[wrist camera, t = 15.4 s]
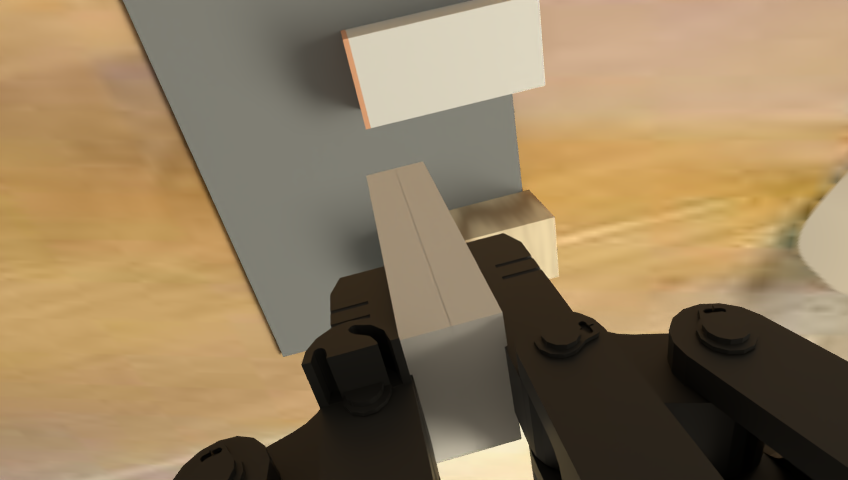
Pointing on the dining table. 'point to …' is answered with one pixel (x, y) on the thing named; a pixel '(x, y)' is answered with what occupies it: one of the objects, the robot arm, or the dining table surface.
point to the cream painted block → (445, 58)
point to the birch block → (513, 225)
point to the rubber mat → (306, 140)
